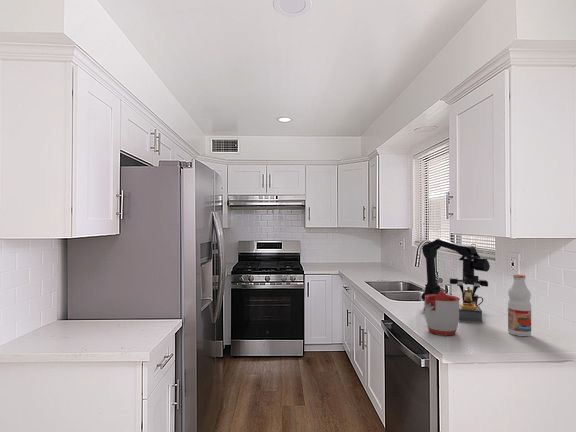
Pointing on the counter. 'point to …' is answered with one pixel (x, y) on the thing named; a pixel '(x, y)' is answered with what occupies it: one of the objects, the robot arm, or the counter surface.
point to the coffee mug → (473, 300)
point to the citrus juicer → (442, 313)
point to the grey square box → (470, 312)
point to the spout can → (468, 294)
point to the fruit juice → (519, 308)
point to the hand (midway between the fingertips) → (468, 297)
